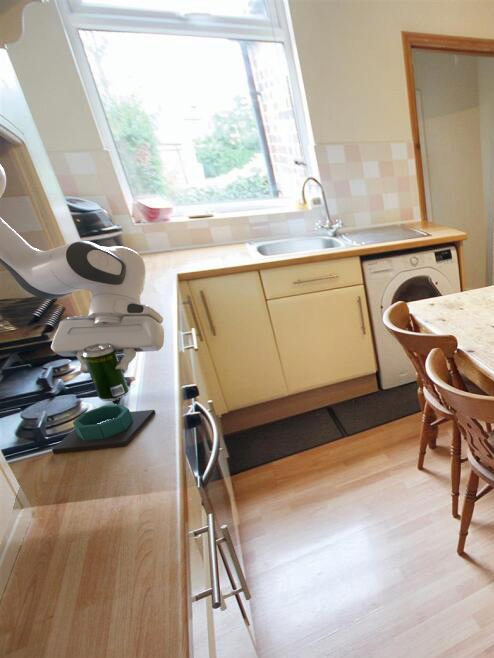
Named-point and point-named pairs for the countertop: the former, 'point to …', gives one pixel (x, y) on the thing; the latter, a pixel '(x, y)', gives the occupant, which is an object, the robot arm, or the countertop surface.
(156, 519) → the countertop surface
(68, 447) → the can pad
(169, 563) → the countertop surface
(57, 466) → the countertop surface
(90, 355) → the beer can
